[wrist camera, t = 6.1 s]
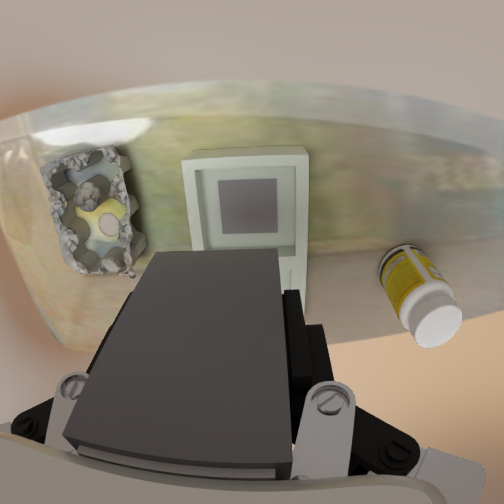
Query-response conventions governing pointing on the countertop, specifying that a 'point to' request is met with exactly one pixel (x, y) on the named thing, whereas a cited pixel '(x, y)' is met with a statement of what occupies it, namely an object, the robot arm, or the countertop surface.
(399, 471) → the robot arm
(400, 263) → the supplement bottle
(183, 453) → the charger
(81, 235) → the egg carton
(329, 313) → the countertop surface
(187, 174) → the power strip
